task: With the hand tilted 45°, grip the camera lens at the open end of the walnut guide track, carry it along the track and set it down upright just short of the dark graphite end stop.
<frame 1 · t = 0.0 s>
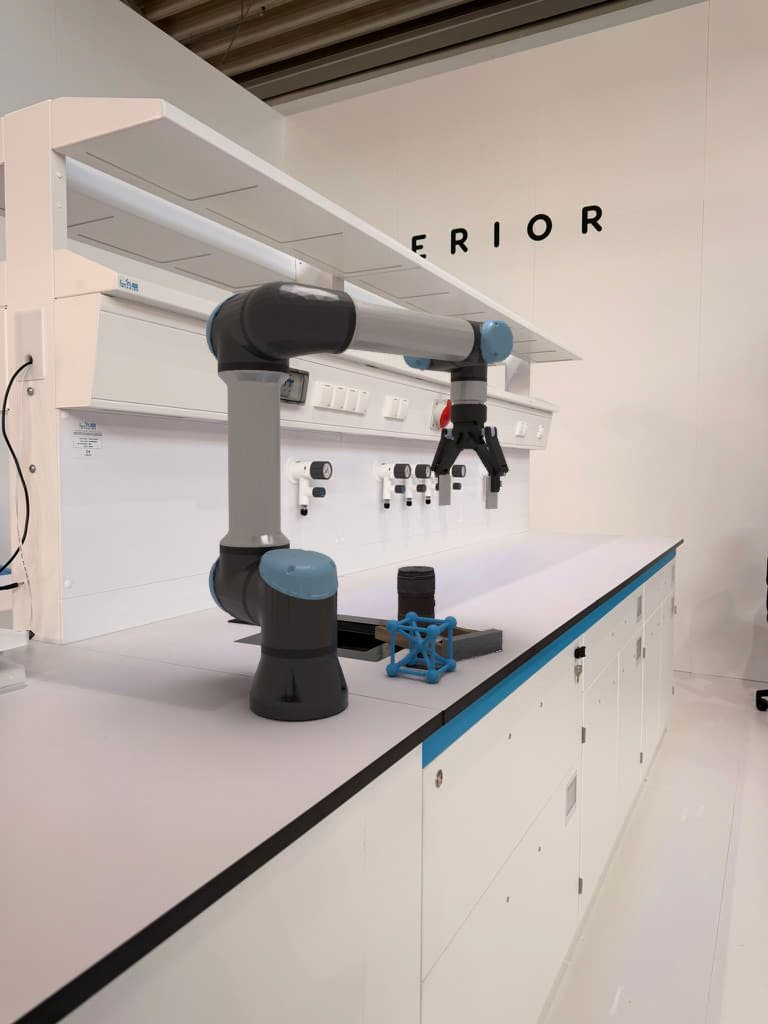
hand: (467, 507, 153), 28 cm above the counter, tool pointing down, fingers open, 13 cm apart
end stop: (472, 654, 143), on the counter
guide rails: (431, 642, 152), on the counter
molecular structure: (421, 674, 130), on the counter
camera lens: (415, 639, 156), on the counter
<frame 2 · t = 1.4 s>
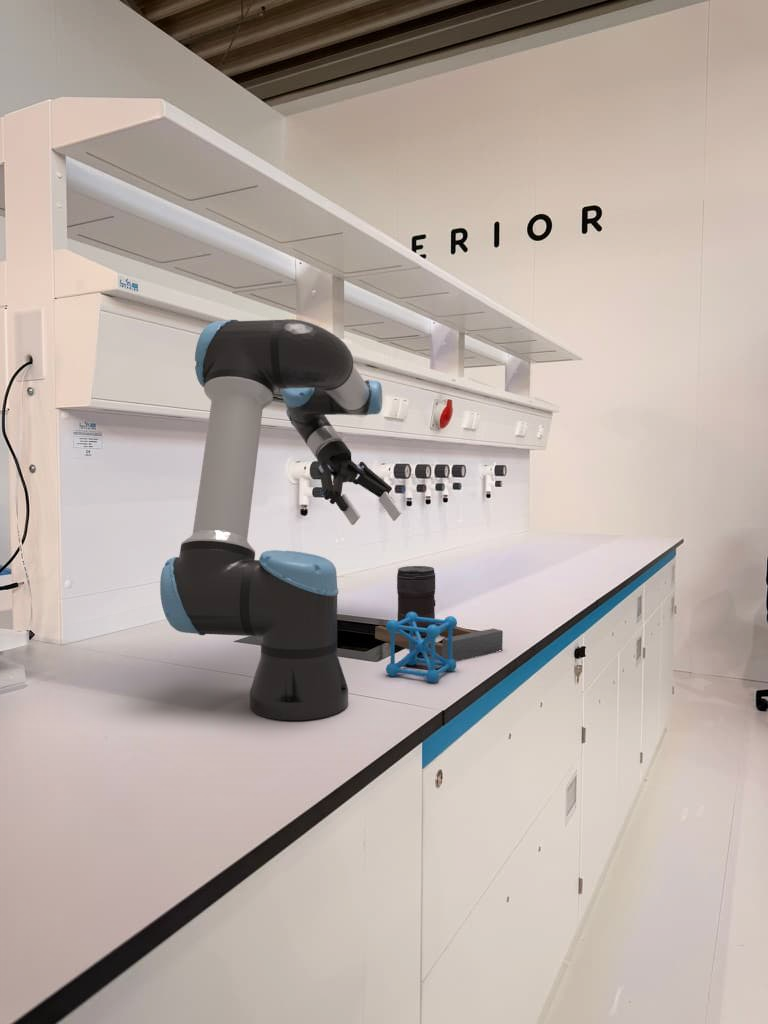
hand: (377, 518, 162), 25 cm above the counter, tool tilted 45°, fingers open, 13 cm apart
nothing on the counter moved.
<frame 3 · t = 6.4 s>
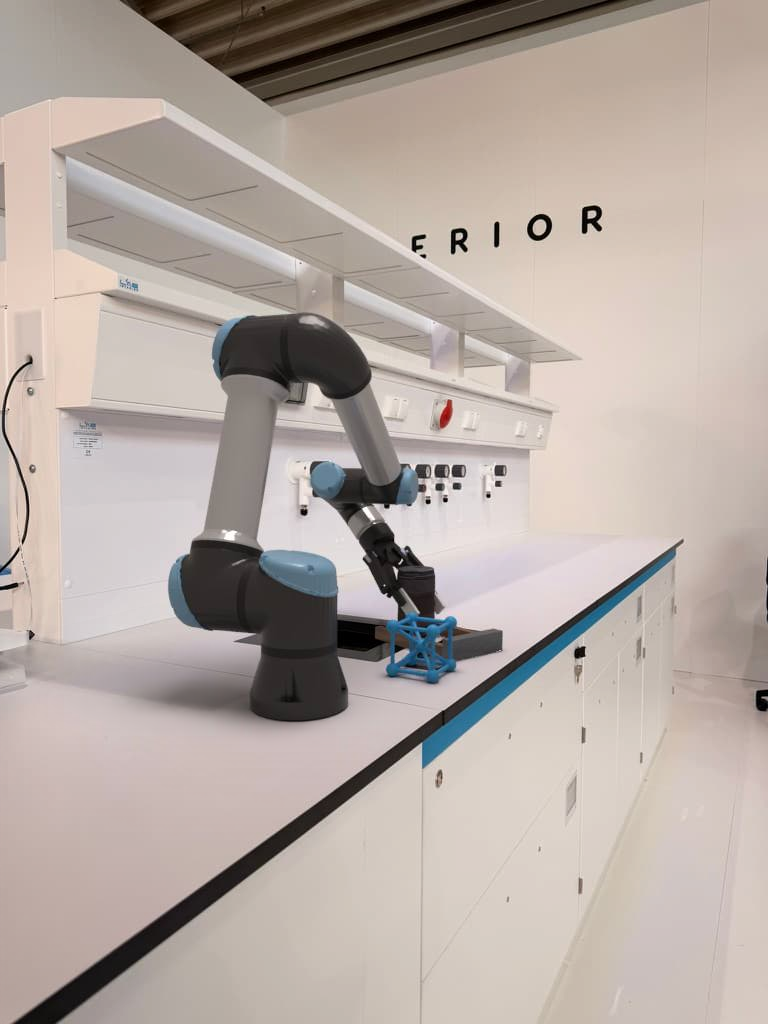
hand: (428, 613, 153), 6 cm above the counter, tool tilted 45°, fingers closed on camera lens, 8 cm apart
camera lens: (415, 639, 156), on the counter, touching gripper
everything else where it was.
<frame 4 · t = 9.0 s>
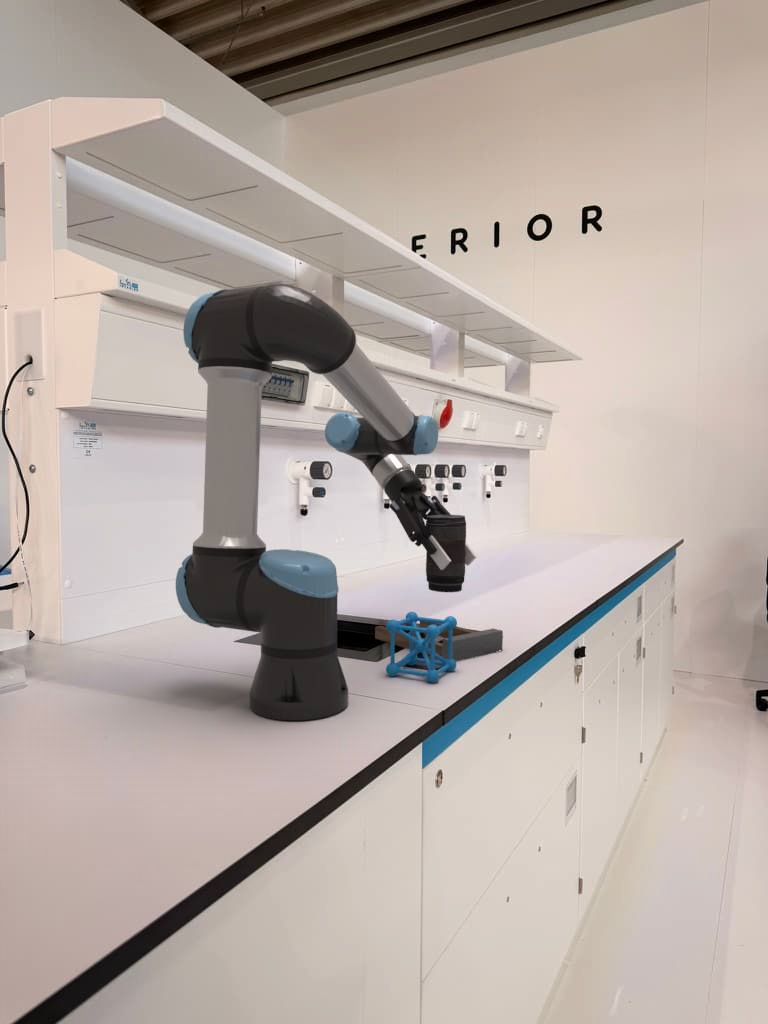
hand: (459, 563, 146), 17 cm above the counter, tool tilted 45°, fingers closed on camera lens, 8 cm apart
camera lens: (444, 590, 148), point 11 cm above the counter, touching gripper
everything else where it was.
when the fingers open (7 cm above the counter, at t = 12.0 s): camera lens drops 1 cm, on the counter.
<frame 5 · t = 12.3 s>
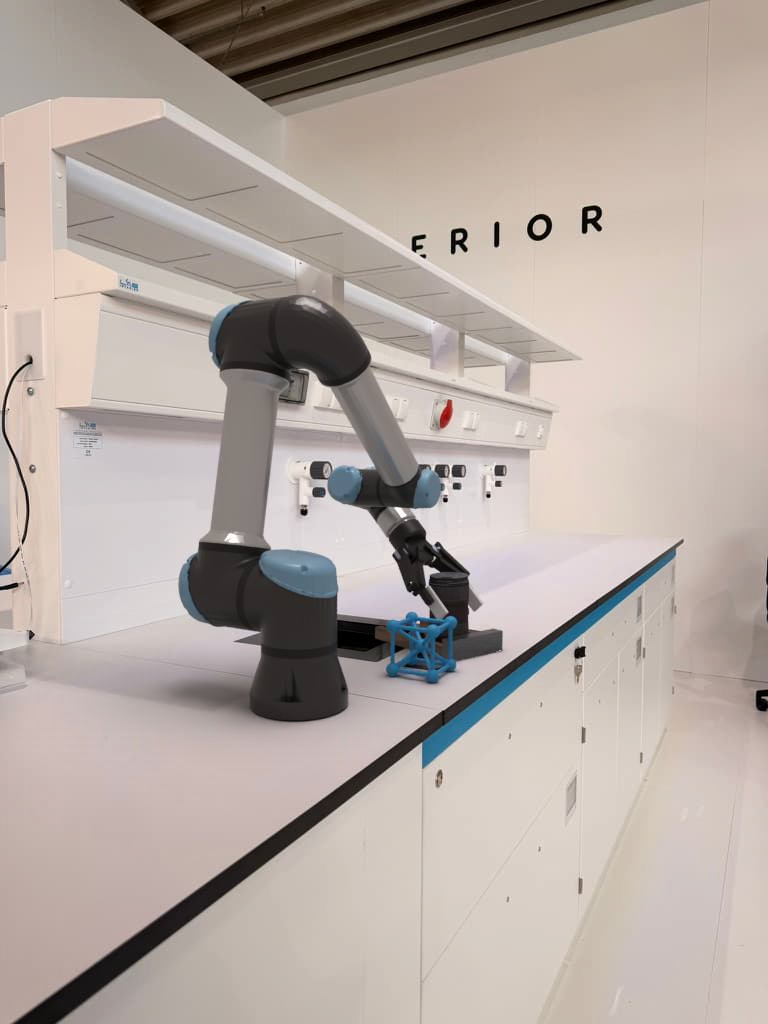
hand: (461, 612, 145), 8 cm above the counter, tool tilted 45°, fingers open, 11 cm apart
camera lens: (448, 649, 148), on the counter
everything else where it was.
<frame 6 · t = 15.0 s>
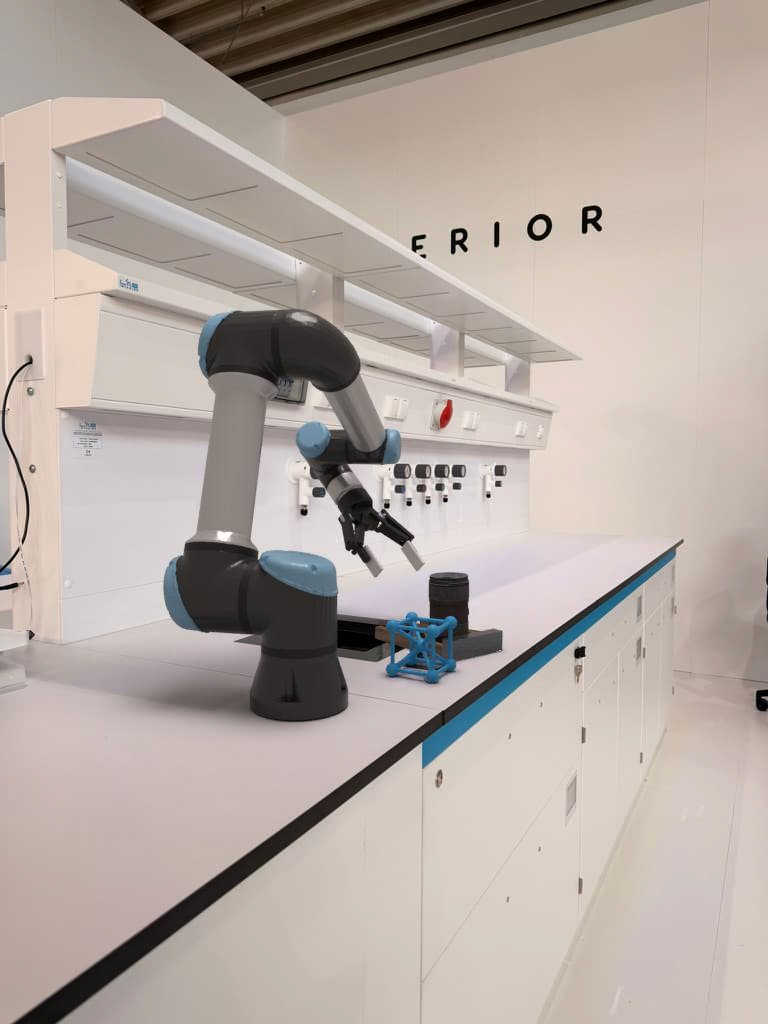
hand: (400, 570, 157), 14 cm above the counter, tool tilted 45°, fingers open, 13 cm apart
nothing on the counter moved.
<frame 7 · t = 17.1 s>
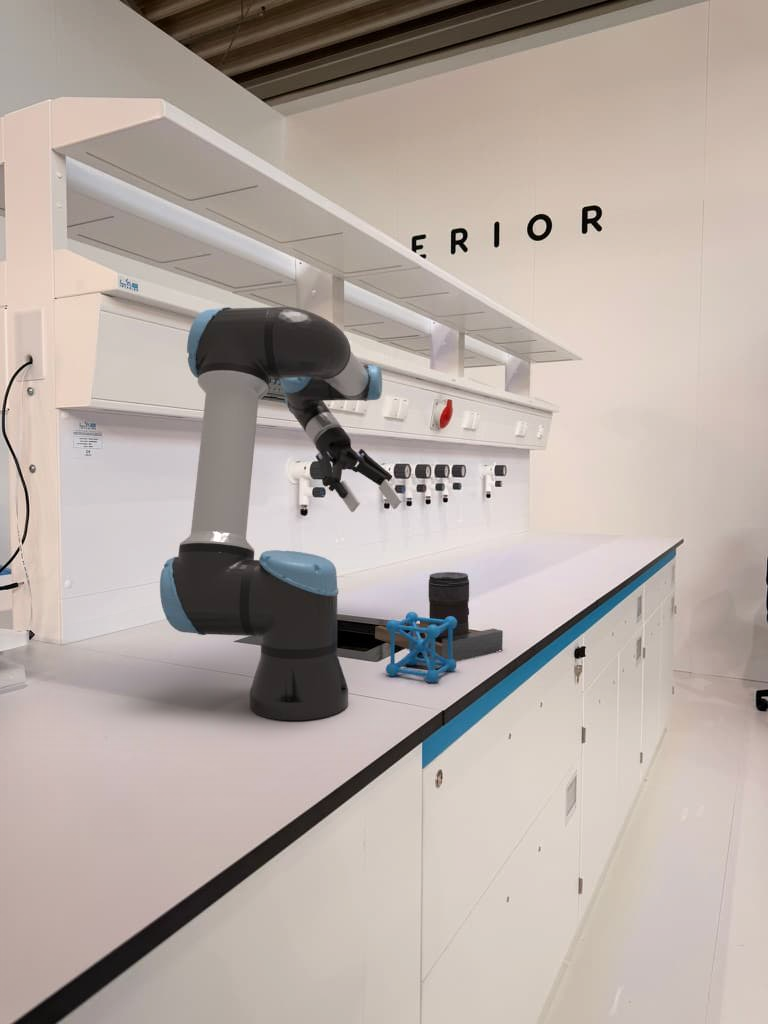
hand: (377, 506, 159), 28 cm above the counter, tool tilted 45°, fingers open, 13 cm apart
nothing on the counter moved.
at the end: camera lens 0.6 cm from the target spot, on the counter; camera lens tilted 0°; the gripper is holding nothing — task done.
